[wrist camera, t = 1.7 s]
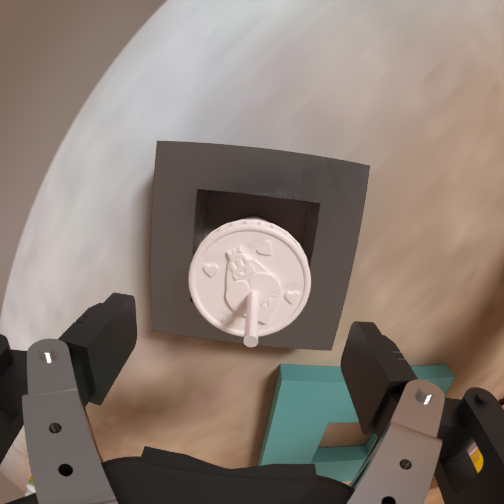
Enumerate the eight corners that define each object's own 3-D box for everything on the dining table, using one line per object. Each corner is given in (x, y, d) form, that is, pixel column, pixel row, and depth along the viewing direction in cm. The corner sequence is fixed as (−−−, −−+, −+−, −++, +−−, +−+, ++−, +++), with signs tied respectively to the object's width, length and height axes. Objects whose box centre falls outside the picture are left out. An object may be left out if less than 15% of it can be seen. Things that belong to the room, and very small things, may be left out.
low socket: (445, 364, 28) (455, 376, 26) (386, 463, 34) (390, 475, 31) (280, 363, 28) (281, 380, 26) (255, 468, 34) (255, 482, 31)
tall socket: (350, 164, 23) (370, 165, 18) (321, 322, 27) (331, 350, 22) (175, 144, 22) (157, 140, 18) (167, 305, 26) (152, 330, 22)
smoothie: (233, 286, 26) (208, 405, 12) (201, 217, 24) (132, 284, 11) (304, 259, 25) (347, 363, 12) (275, 186, 23) (296, 218, 10)
